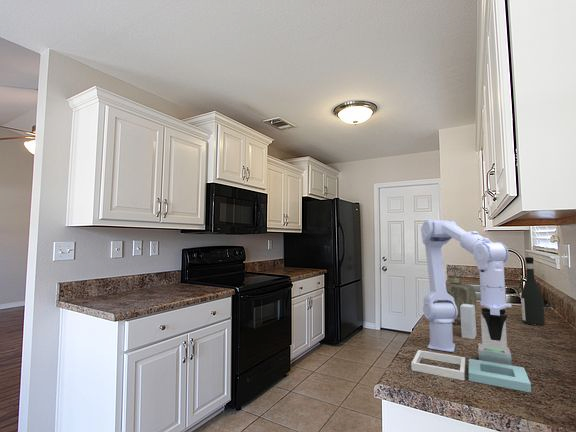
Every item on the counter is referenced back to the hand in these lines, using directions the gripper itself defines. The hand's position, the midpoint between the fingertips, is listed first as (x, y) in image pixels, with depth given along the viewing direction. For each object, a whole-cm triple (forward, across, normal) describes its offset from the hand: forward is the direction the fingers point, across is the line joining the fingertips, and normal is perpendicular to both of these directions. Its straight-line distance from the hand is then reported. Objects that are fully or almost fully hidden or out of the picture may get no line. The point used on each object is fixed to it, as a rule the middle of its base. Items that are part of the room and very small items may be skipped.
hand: (495, 337), depth 85 cm
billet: (+3, 0, 0) cm, 3 cm away
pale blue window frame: (+10, 0, 0) cm, 10 cm away
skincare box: (+11, +40, +7) cm, 42 cm away
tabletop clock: (+11, +61, +12) cm, 63 cm away
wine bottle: (+11, +79, -18) cm, 82 cm away
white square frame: (+10, 0, +14) cm, 17 cm away
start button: (+9, +13, 0) cm, 16 cm away
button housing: (+10, +13, 0) cm, 17 cm away
